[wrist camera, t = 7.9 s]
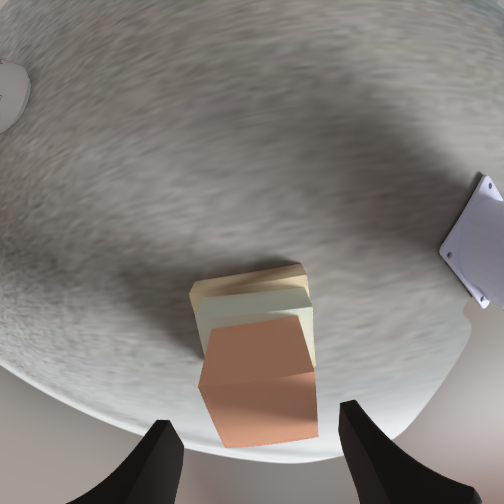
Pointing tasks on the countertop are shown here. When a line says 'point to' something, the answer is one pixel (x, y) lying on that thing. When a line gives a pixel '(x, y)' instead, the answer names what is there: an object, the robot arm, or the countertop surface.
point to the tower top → (255, 311)
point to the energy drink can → (12, 93)
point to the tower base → (251, 284)
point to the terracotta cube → (260, 383)
